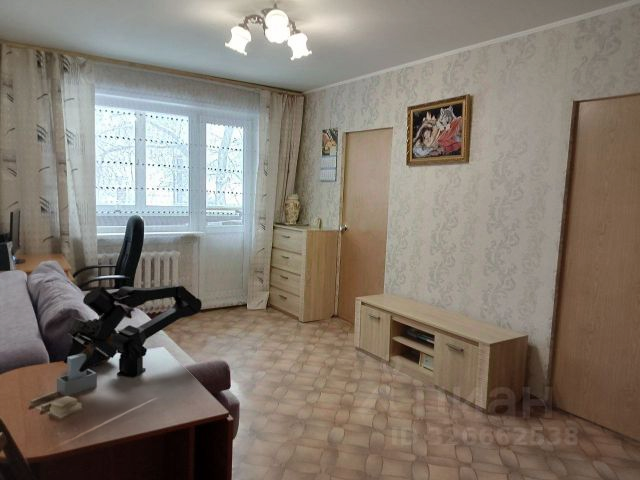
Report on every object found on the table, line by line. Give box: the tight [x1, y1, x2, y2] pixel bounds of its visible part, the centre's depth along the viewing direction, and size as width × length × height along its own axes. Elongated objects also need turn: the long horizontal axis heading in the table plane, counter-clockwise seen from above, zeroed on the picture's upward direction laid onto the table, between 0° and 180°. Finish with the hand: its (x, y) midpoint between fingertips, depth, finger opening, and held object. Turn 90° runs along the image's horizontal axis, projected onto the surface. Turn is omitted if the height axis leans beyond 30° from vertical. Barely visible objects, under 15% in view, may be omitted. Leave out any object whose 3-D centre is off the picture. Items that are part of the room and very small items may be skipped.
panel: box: [66, 353, 86, 381], centre depth 136 cm, size 4×2×10 cm, turn 144°
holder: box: [56, 368, 98, 397], centre depth 137 cm, size 9×5×5 cm, turn 144°
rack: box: [28, 390, 85, 420], centre depth 126 cm, size 7×14×3 cm, turn 62°
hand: (72, 367), depth 135 cm, fingers open, 9 cm apart
